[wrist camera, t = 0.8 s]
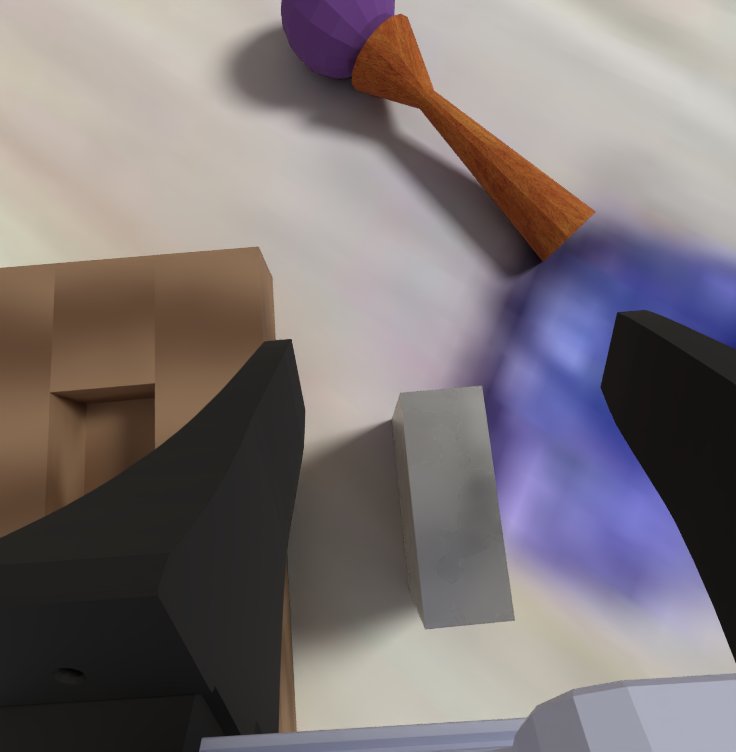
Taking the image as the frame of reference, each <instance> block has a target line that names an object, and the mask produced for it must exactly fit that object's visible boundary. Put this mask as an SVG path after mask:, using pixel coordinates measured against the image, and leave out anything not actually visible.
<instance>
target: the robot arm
mask: <svg viewBox="0 0 736 752" xmlns="http://www.w3.org/2000/svg"><path fill="white" fill-rule="evenodd" d="M601 390H602V392H603V395H604V397H605V400H606V402H607V405H608V407H609V410H610V412H611V414H612V416H613V419H614V421H615V423H616V425H617V427H618V428H619V430H620V432H621V434H622V435H623V437H624V438H625V440H626V442H627V443H628V445H629V447H630V448H631V450H632V452H633V453H634V455H635V456H636V458H637V460H638V461H639V463H640V464H641V466H642V468H643V469H644V471H645V472H646V474H647V476H648V477H649V479H650V480H651V482H652V484H653V485H654V487H655V489H656V490H657V492H658V493H659V495H660V497H661V498H662V500H663V501H664V503H665V505H666V506H667V508H668V510H669V512H670V514H671V515H672V517H673V519H674V521H675V523H676V525H677V527H678V529H679V531H680V533H681V535H682V537H683V539H684V541H685V544H686V546H687V548H688V550H689V552H690V554H691V556H692V558H693V560H694V563H695V565H696V567H697V569H698V572H699V574H700V576H701V579H702V581H703V583H704V586H705V588H706V590H707V592H708V595H709V597H710V599H711V602H712V604H713V606H714V609H715V611H716V614H717V616H718V619H719V621H720V624H721V626H722V629H723V632H724V634H725V637H726V639H727V642H728V644H729V647H730V649H731V652H732V654H733V657H734V659H735V662H736V349H734V348H731V347H729V346H727V345H725V344H723V343H721V342H718V341H716V340H714V339H712V338H710V337H708V336H705V335H703V334H701V333H699V332H697V331H695V330H692V329H690V328H688V327H686V326H684V325H682V324H679V323H677V322H675V321H673V320H670V319H668V318H666V317H663V316H661V315H658V314H656V313H653V312H650V311H647V310H640V311H628V312H617V316H616V320H615V325H614V329H613V334H612V338H611V343H610V347H609V352H608V356H607V361H606V365H605V370H604V374H603V379H602V383H601ZM304 433H305V406H304V401H303V396H302V391H301V386H300V381H299V375H298V370H297V365H296V360H295V355H294V349H293V344H292V339H286V340H274V341H264V342H263V343H262V345H261V346H260V347H259V348H258V349H257V350H256V351H255V353H254V354H253V355H252V356H251V357H250V358H249V359H248V361H247V362H246V363H245V364H244V365H243V366H242V368H241V369H240V370H239V371H238V372H237V373H236V374H235V376H234V377H233V378H232V379H231V380H230V381H229V382H228V383H227V384H226V385H225V387H224V388H223V389H222V390H221V391H220V392H219V393H218V394H217V395H216V396H215V397H214V398H213V399H212V400H211V401H210V402H209V403H208V404H207V405H206V406H205V407H204V408H203V409H202V410H201V411H200V412H199V413H198V414H197V415H196V416H195V417H194V418H192V419H191V420H190V421H189V422H188V423H187V424H186V425H185V426H183V427H182V428H181V429H180V430H179V431H178V432H176V433H175V434H174V435H173V436H171V437H170V438H169V439H168V440H166V441H165V442H164V443H163V444H161V445H160V446H159V447H157V448H156V449H155V450H153V451H152V452H151V453H149V454H148V455H146V456H145V457H143V458H142V459H140V460H139V461H137V462H136V463H135V464H133V465H132V466H130V467H129V468H127V469H126V470H124V471H123V472H121V473H120V474H119V475H117V476H116V477H114V478H112V479H111V480H109V481H107V482H106V483H104V484H103V485H101V486H99V487H98V488H96V489H94V490H93V491H91V492H89V493H87V494H86V495H84V496H82V497H80V498H78V499H77V500H75V501H73V502H71V503H70V504H68V505H66V506H64V507H62V508H60V509H58V510H56V511H55V512H53V513H51V514H49V515H47V516H45V517H43V518H41V519H38V520H36V521H34V522H32V523H30V524H28V525H26V526H24V527H22V528H20V529H18V530H16V531H14V532H12V533H10V534H8V535H6V536H3V537H1V538H0V752H736V673H735V674H719V675H703V676H687V677H672V678H656V679H640V680H624V681H616V682H611V683H605V684H599V685H594V686H588V687H583V688H577V689H573V690H570V691H568V692H566V693H564V694H562V695H559V696H557V697H555V698H553V699H551V700H548V701H546V702H544V703H542V704H540V705H538V706H536V708H535V709H534V710H533V711H532V712H531V714H530V715H529V716H528V717H527V718H513V719H497V720H481V721H464V722H448V723H432V724H416V725H400V726H383V727H367V728H351V729H335V730H319V731H302V732H286V733H279V702H280V670H281V644H282V623H283V604H284V586H285V571H286V557H287V546H288V538H289V530H290V524H291V519H292V513H293V508H294V502H295V496H296V491H297V485H298V479H299V473H300V468H301V462H302V456H303V450H304Z"/></svg>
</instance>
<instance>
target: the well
mask: <svg viewBox="0 0 736 752" xmlns="http://www.w3.org/2000/svg"><path fill="white" fill-rule="evenodd" d="M274 340H276V339H275V320H274V301H273V283H272V276H271V273H270V271H269V269H268V267H267V264H266V262H265V260H264V258H263V255H262V253H261V251H260V249H259V247H249V248H237V249H225V250H213V251H200V252H188V253H176V254H164V255H152V256H140V257H128V258H115V259H103V260H91V261H79V262H67V263H55V264H43V265H31V266H18V267H6V268H0V538H1V537H3V536H6V535H8V534H10V533H12V532H14V531H16V530H18V529H20V528H22V527H24V526H26V525H28V524H30V523H32V522H34V521H36V520H38V519H41V518H43V517H45V516H47V515H49V514H51V513H53V512H55V511H56V510H58V509H60V508H62V507H64V506H66V505H68V504H70V503H71V502H73V501H75V500H77V499H78V498H80V497H82V496H84V495H86V494H87V493H89V492H91V491H93V490H94V489H96V488H98V487H99V486H101V485H103V484H104V483H106V482H107V481H109V480H111V479H112V478H114V477H116V476H117V475H119V474H120V473H121V472H123V471H124V470H126V469H127V468H129V467H130V466H132V465H133V464H135V463H136V462H137V461H139V460H140V459H142V458H143V457H145V456H146V455H148V454H149V453H151V452H152V451H153V450H155V449H156V448H157V447H159V446H160V445H161V444H163V443H164V442H165V441H166V440H168V439H169V438H170V437H171V436H173V435H174V434H175V433H176V432H178V431H179V430H180V429H181V428H182V427H183V426H185V425H186V424H187V423H188V422H189V421H190V420H191V419H192V418H194V417H195V416H196V415H197V414H198V413H199V412H200V411H201V410H202V409H203V408H204V407H205V406H206V405H207V404H208V403H209V402H210V401H211V400H212V399H213V398H214V397H215V396H216V395H217V394H218V393H219V392H220V391H221V390H222V389H223V388H224V387H225V385H226V384H227V383H228V382H229V381H230V380H231V379H232V378H233V377H234V376H235V374H236V373H237V372H238V371H239V370H240V369H241V368H242V366H243V365H244V364H245V363H246V362H247V361H248V359H249V358H250V357H251V356H252V355H253V354H254V353H255V351H256V350H257V349H258V348H259V347H260V346H261V345H262V343H263V342H264V341H274ZM286 732H297V730H296V712H295V693H294V674H293V656H292V637H291V618H290V600H289V581H288V563H287V557H286V571H285V586H284V604H283V623H282V644H281V670H280V702H279V733H286Z"/></svg>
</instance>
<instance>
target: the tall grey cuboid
mask: <svg viewBox="0 0 736 752" xmlns="http://www.w3.org/2000/svg"><path fill="white" fill-rule="evenodd" d="M392 427H393V437H394V447H395V457H396V467H397V477H398V487H399V497H400V507H401V517H402V527H403V537H404V547H405V557H406V566H407V576H408V586H409V592H410V595H411V597H412V599H413V602H414V604H415V606H416V609H417V611H418V614H419V616H420V618H421V621H422V623H423V625H424V628H425V629H433V628H444V627H454V626H464V625H474V624H485V623H495V622H505V621H515V618H514V611H513V604H512V597H511V590H510V583H509V575H508V568H507V561H506V554H505V547H504V540H503V533H502V526H501V518H500V511H499V504H498V497H497V490H496V483H495V476H494V469H493V461H492V454H491V447H490V440H489V433H488V426H487V419H486V411H485V404H484V397H483V390H482V386H473V387H461V388H450V389H439V390H428V391H416V392H405V393H400V395H399V398H398V401H397V404H396V407H395V411H394V414H393V417H392Z"/></svg>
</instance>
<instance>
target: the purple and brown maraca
mask: <svg viewBox="0 0 736 752" xmlns="http://www.w3.org/2000/svg"><path fill="white" fill-rule="evenodd" d="M394 9H395V0H282V2H281V16H282V24H283V28H284V31H285V33H286V36H287V39H288V41H289V44H290V46H291V48H292V49H293V50H294V52H295V53H296V55H297V56H298V57H299V58H300V59H301V60H302V61H303V62H304V63H305V64H306V65H307V66H308V67H309V68H310V69H311V70H312V71H313V72H316V73H319V74H322V75H325V76H328V77H332V78H337V79H344V78H348V77H352V85H353V87H354V89H355V90H356V91H360V92H363V93H367V94H370V95H374V96H377V97H381V98H384V99H388V100H391V101H394V102H398V103H401V104H405V105H408V106H412V107H415V108H419V109H420V110H421V111H422V112H423V113H424V115H425V116H426V117H427V118H428V120H429V121H430V122H431V123H432V125H433V126H434V127H435V128H436V130H437V131H438V132H439V133H440V134H441V136H442V137H443V138H444V139H445V141H446V142H447V143H448V144H449V146H450V147H451V148H452V149H453V151H454V152H455V153H456V154H457V156H458V157H459V158H460V159H461V161H462V162H463V163H464V164H465V166H466V167H467V168H468V169H469V171H470V172H471V173H472V174H473V176H474V177H475V178H476V179H477V181H478V182H479V183H480V184H481V185H482V187H483V188H484V189H485V190H486V192H487V193H488V194H489V195H490V197H491V198H492V199H493V200H494V202H495V203H496V204H497V205H498V207H499V208H500V209H501V210H502V212H503V213H504V214H505V215H506V217H507V218H508V219H509V220H510V222H511V223H512V224H513V225H514V227H515V228H516V229H517V230H518V231H519V233H520V234H521V235H522V236H523V238H524V239H525V240H526V241H527V243H528V244H529V245H530V246H531V248H532V249H533V250H534V251H535V253H536V254H537V255H538V256H539V258H540V259H541V260H542V261H543V262H544V261H545V260H546V259H547V258H548V257H549V256H550V255H551V254H552V253H553V252H554V251H555V250H557V249H558V248H559V247H560V246H561V245H562V244H563V243H564V242H565V241H566V240H567V239H568V238H569V237H570V236H571V235H572V234H573V233H574V232H575V231H576V230H577V229H578V228H579V227H580V226H582V225H583V224H584V223H585V222H586V221H587V220H588V219H589V218H590V217H591V216H592V215H593V214H594V213H595V211H594V210H593V209H591V208H590V207H589V206H587V205H586V204H585V203H583V202H582V201H581V200H579V199H578V198H577V197H575V196H574V195H573V194H571V193H570V192H569V191H567V190H566V189H565V188H563V187H562V186H561V185H559V184H558V183H557V182H555V181H554V180H553V179H551V178H550V177H549V176H547V175H546V174H545V173H543V172H542V171H541V170H539V169H538V168H537V167H535V166H534V165H533V164H531V163H530V162H529V161H527V160H526V159H525V158H523V157H522V156H521V155H519V154H518V153H517V152H515V151H514V150H513V149H511V148H510V147H509V146H507V145H506V144H505V143H503V142H502V141H501V140H499V139H498V138H497V137H495V136H494V135H493V134H491V133H490V132H489V131H487V130H486V129H485V128H483V127H482V126H481V125H479V124H478V123H477V122H475V121H474V120H473V119H471V118H470V117H469V116H467V115H466V114H465V113H463V112H462V111H461V110H459V109H458V108H457V107H455V106H454V105H453V104H451V103H450V102H449V101H447V100H446V99H445V98H443V97H442V96H441V95H439V94H438V93H437V92H435V91H434V89H433V86H432V83H431V81H430V78H429V75H428V72H427V70H426V67H425V64H424V61H423V59H422V56H421V53H420V50H419V48H418V45H417V42H416V39H415V36H414V34H413V31H412V28H411V25H410V23H409V20H408V17H406V16H404V15H402V14H398V15H395V16H394Z"/></svg>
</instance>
